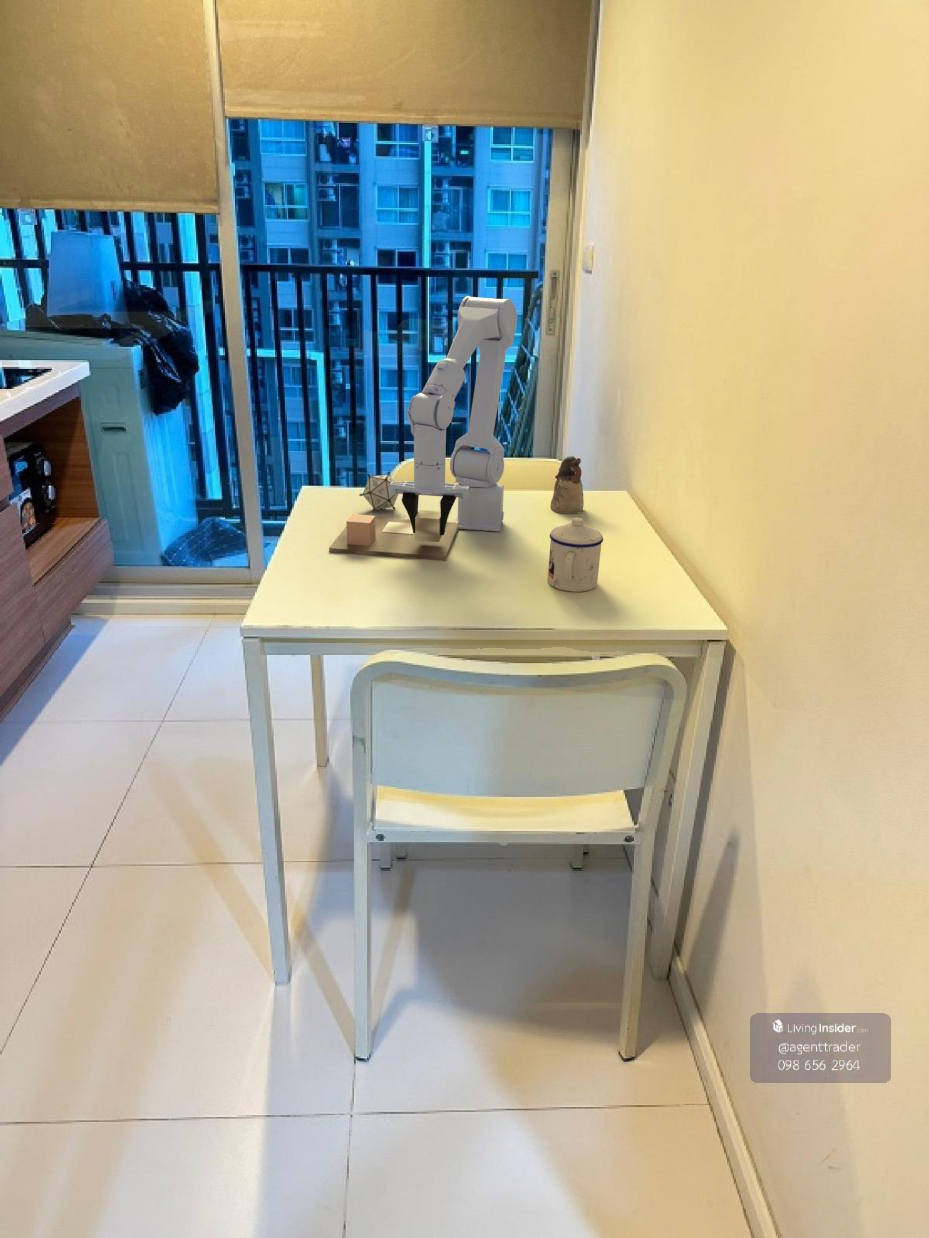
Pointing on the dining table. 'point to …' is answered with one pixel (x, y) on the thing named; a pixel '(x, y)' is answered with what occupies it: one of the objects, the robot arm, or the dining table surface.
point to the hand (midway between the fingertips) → (428, 532)
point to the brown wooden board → (398, 541)
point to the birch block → (428, 526)
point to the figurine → (568, 488)
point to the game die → (379, 492)
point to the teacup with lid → (574, 557)
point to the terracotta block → (361, 529)
